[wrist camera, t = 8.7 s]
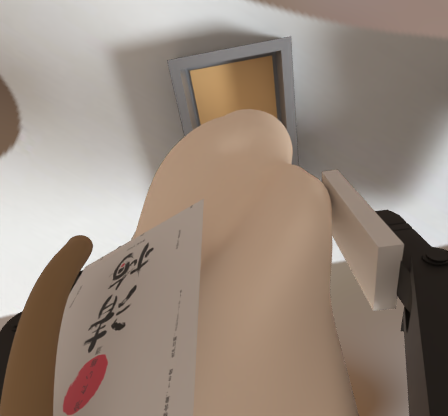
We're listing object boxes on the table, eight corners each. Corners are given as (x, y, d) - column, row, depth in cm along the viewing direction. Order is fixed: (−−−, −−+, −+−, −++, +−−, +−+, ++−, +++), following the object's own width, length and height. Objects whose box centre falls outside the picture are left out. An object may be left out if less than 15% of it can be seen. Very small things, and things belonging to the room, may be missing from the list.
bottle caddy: (282, 38, 39) (291, 36, 34) (296, 229, 52) (303, 249, 47) (175, 59, 40) (167, 60, 35) (215, 240, 54) (213, 261, 48)
